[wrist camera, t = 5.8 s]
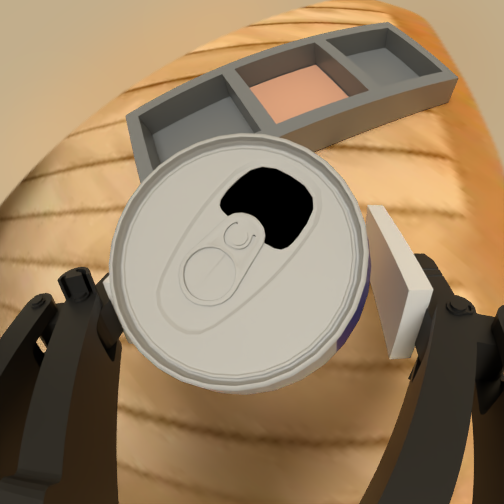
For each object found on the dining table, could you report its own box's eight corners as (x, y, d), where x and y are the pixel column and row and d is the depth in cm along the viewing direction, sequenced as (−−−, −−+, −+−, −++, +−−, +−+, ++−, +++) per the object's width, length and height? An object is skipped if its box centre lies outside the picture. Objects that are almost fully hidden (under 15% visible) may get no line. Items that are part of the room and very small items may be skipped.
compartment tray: (167, 222, 19) (145, 203, 16) (142, 137, 22) (125, 115, 20) (448, 102, 18) (458, 77, 15) (385, 45, 21) (388, 22, 18)
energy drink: (348, 301, 16) (431, 216, 5) (289, 376, 15) (243, 462, 4) (275, 247, 18) (217, 95, 6) (217, 318, 17) (65, 271, 6)
